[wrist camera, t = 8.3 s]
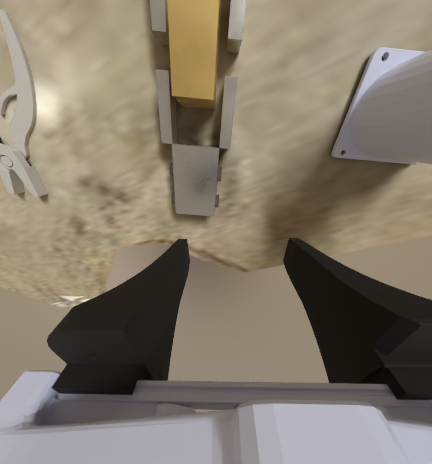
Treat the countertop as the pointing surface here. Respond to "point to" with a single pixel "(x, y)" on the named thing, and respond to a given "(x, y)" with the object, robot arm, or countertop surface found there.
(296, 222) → the countertop surface
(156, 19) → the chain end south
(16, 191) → the pliers
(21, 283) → the countertop surface
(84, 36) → the countertop surface
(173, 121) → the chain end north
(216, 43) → the brushed brass bar
